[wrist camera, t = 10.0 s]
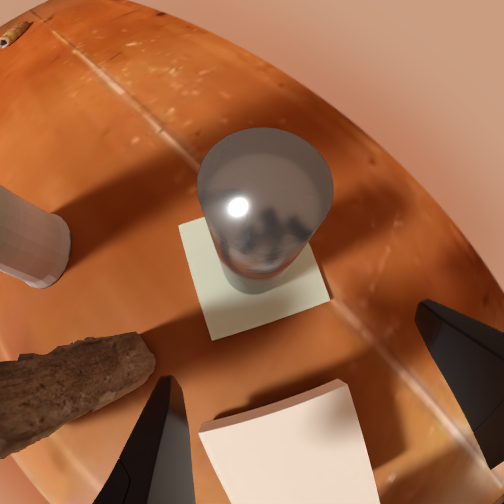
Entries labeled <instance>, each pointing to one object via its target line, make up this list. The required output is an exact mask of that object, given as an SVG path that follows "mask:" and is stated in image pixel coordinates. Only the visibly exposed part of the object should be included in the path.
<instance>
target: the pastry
mask: <svg viewBox="0 0 504 504" xmlns="http://www.w3.org/2000/svg"><path fill="white" fill-rule="evenodd" d="M28 26H29V22H28V21H24V22H21V23H19V24H18V25H15V26H14V27H12V28H11V29H9V30H8V31H7V32H6V33H5V34H4V35H3V36H2V37H1V38H0V48H5V47H7V46H9V45H10V44H12V43H13V42H14V41H15V40H16V39H17V37H18V36H20V35H22V33H23V32H24V31H25V30H26V29H27V28H28Z"/></svg>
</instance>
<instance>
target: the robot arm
mask: <svg viewBox="0 0 504 504" xmlns="http://www.w3.org/2000/svg"><path fill="white" fill-rule="evenodd" d="M415 323H416V325H417V327H418V329H419V331H420V333H421V336H422V338H423V340H424V342H425V344H426V346H427V348H428V350H429V352H430V354H431V356H432V358H433V359H434V361H435V363H436V364H437V366H438V368H439V369H440V371H441V373H442V375H443V376H444V378H445V380H446V382H447V383H448V385H449V387H450V389H451V391H452V392H453V394H454V396H455V398H456V400H457V402H458V403H459V405H460V407H461V409H462V411H463V413H464V415H465V417H466V419H467V421H468V423H469V425H470V427H471V429H472V431H473V432H474V435H475V438H476V440H477V442H478V444H479V446H480V448H481V450H482V453H483V455H484V457H485V460H486V462H487V464H488V467H489V468H490V470H491V469H493V468H494V467H496V466H497V465H499V464H500V463H502V462H503V461H504V332H501V331H499V330H497V329H495V328H493V327H491V326H488V325H486V324H484V323H482V322H480V321H477V320H475V319H473V318H471V317H468V316H466V315H464V314H462V313H460V312H457V311H455V310H453V309H451V308H448V307H446V306H444V305H441V304H439V303H437V302H435V301H432V300H430V299H426V300H423V301H421V302H419V304H418V307H417V311H416V315H415ZM119 458H120V459H118V461H117V463H116V465H115V467H114V469H113V471H112V472H111V474H110V476H109V478H108V480H107V481H106V483H105V485H104V486H103V488H102V490H101V491H100V493H99V494H98V496H97V497H96V499H95V500H94V502H93V503H92V504H196V502H195V493H194V483H193V473H192V461H191V447H190V433H189V426H188V421H187V415H186V409H185V403H184V397H183V392H182V389H181V387H180V385H179V384H178V382H177V381H176V379H175V378H174V376H173V375H166V376H161V377H160V378H159V380H158V382H157V384H156V386H155V388H154V390H153V392H152V394H151V396H150V398H149V400H148V401H147V403H146V405H145V407H144V409H143V411H142V413H141V415H140V417H139V419H138V421H137V423H136V425H135V427H134V429H133V431H132V433H131V435H130V437H129V439H128V441H127V443H126V445H125V447H124V449H123V451H122V453H121V455H120V457H119ZM493 504H504V494H503V495H502V496H501V497H500V498H499V499H498V500H497V501H496V502H494V503H493Z"/></svg>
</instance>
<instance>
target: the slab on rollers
mask: <svg viewBox="0 0 504 504" xmlns="http://www.w3.org/2000/svg"><path fill="white" fill-rule="evenodd" d="M198 434H199V436H200V439H201V441H202V443H203V446H204V448H205V450H206V452H207V455H208V457H209V459H210V461H211V463H212V465H213V468H214V470H215V472H216V474H217V476H218V478H219V480H220V482H221V484H222V486H223V488H224V490H225V492H226V494H227V496H228V498H229V500H230V501H231V503H232V504H380V501H379V497H378V492H377V488H376V484H375V480H374V476H373V472H372V468H371V464H370V460H369V457H368V453H367V449H366V446H365V442H364V438H363V435H362V431H361V428H360V424H359V421H358V417H357V414H356V410H355V407H354V404H353V400H352V397H351V394H350V390H349V387H348V384H346V383H344V382H343V381H342V380H341V379H339V378H338V379H336V380H333V381H331V382H329V383H326V384H324V385H321V386H319V387H316V388H314V389H311V390H309V391H306V392H303V393H301V394H298V395H295V396H292V397H290V398H287V399H284V400H281V401H278V402H275V403H272V404H269V405H266V406H263V407H260V408H256V409H253V410H250V411H246V412H243V413H239V414H236V415H232V416H228V417H225V418H221V419H217V420H213V421H208V422H204V423H202V425H201V428H200V430H199V432H198Z"/></svg>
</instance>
